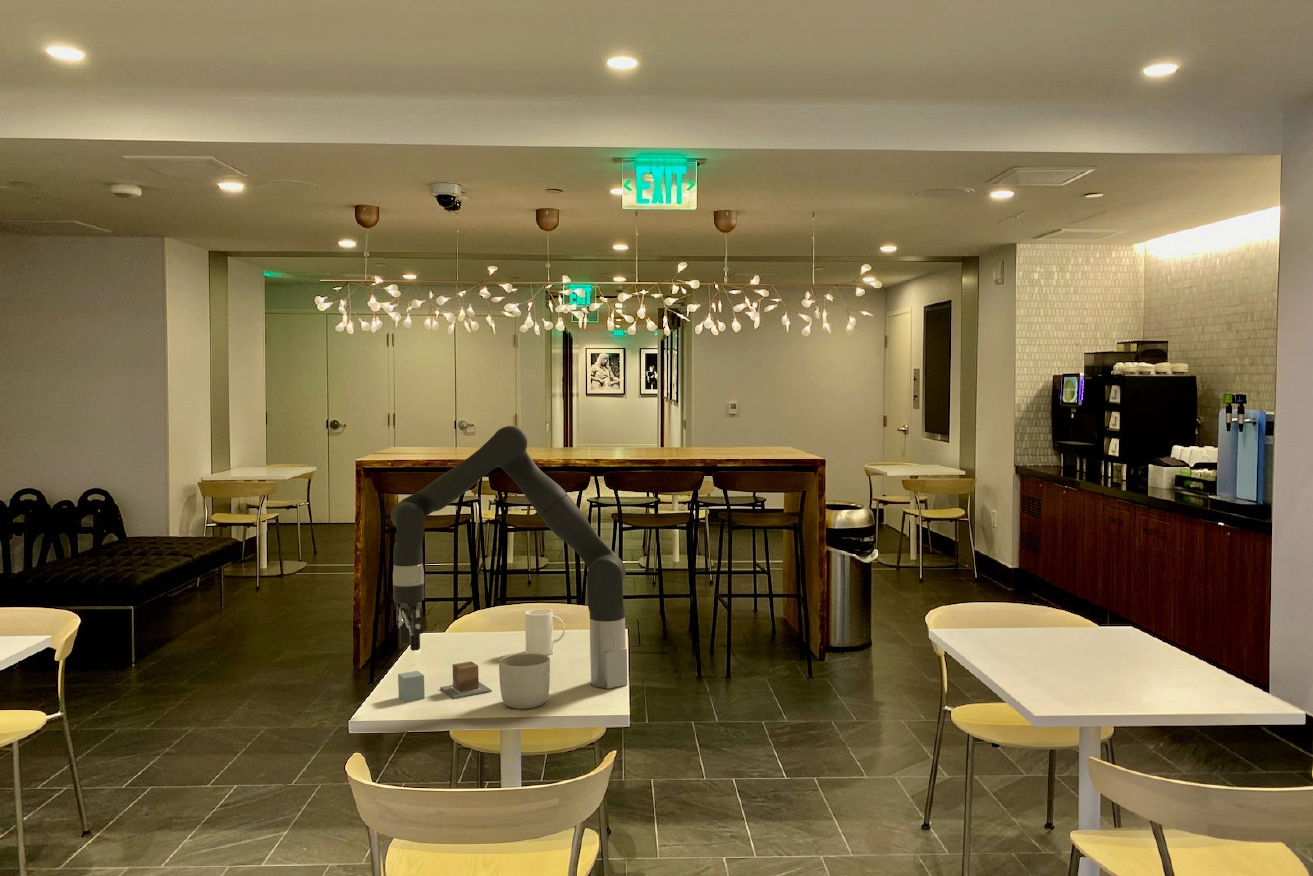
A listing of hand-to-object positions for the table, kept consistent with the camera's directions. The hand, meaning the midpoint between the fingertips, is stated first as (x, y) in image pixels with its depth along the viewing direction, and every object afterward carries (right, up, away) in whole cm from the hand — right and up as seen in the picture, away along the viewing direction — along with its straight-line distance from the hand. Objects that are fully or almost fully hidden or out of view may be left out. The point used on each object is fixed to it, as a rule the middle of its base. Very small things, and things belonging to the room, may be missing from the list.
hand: (409, 646), depth 237 cm
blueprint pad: (+13, -13, +6) cm, 19 cm away
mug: (+29, -11, +42) cm, 52 cm away
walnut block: (+13, -12, +6) cm, 18 cm away
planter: (+30, -13, -6) cm, 33 cm away
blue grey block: (0, -13, 0) cm, 13 cm away
